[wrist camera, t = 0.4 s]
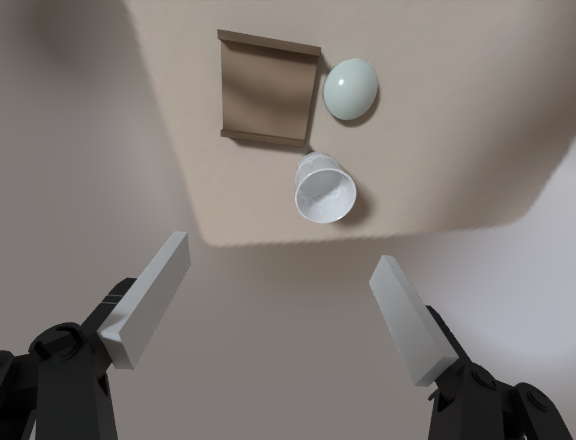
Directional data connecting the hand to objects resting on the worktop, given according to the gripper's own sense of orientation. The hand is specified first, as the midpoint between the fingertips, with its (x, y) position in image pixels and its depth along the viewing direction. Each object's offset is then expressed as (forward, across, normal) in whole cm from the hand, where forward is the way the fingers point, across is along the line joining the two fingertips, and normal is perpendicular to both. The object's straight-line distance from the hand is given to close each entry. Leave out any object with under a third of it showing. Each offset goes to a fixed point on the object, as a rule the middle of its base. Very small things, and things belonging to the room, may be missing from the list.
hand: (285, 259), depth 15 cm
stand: (+24, -4, +9) cm, 26 cm away
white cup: (+24, +5, -1) cm, 25 cm away
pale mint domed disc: (+24, +7, +11) cm, 27 cm away
